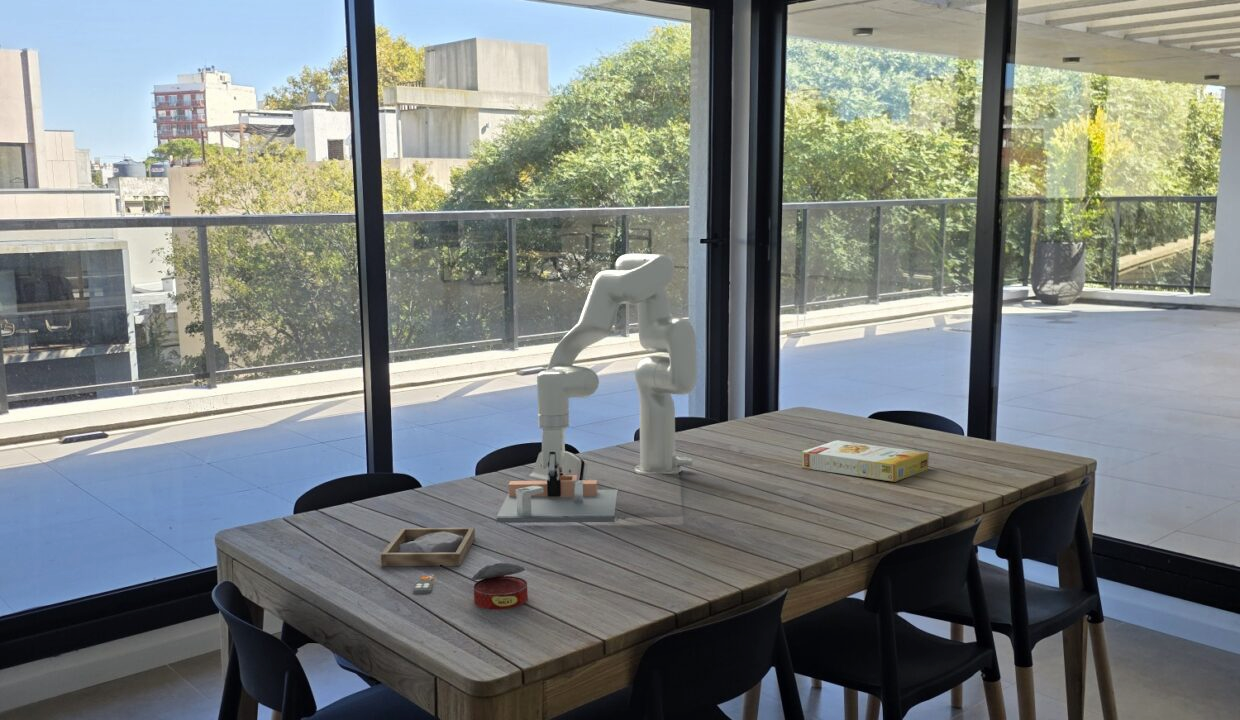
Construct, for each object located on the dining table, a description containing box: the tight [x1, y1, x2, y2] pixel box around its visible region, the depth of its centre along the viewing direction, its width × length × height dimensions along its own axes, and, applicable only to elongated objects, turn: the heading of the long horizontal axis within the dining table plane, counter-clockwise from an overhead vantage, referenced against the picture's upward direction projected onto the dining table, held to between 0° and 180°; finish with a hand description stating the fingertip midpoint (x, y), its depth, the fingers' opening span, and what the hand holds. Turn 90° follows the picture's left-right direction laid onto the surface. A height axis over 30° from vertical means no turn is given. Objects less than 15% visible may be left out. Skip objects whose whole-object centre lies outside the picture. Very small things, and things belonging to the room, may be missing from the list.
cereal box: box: [801, 439, 930, 483], centre depth 291 cm, size 20×6×28 cm
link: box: [508, 475, 598, 498], centre depth 265 cm, size 22×6×4 cm, turn 88°
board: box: [496, 489, 619, 524], centre depth 257 cm, size 27×23×2 cm
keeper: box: [516, 485, 544, 517], centre depth 249 cm, size 6×3×7 cm, turn 128°
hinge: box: [528, 450, 588, 481], centre depth 280 cm, size 17×5×10 cm, turn 47°
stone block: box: [399, 532, 463, 553], centre depth 225 cm, size 12×5×10 cm
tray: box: [380, 527, 476, 567], centre depth 226 cm, size 16×18×2 cm
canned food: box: [471, 562, 528, 611], centre depth 197 cm, size 11×10×10 cm
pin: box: [574, 480, 583, 503], centre depth 257 cm, size 2×2×6 cm
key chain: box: [412, 574, 434, 595], centre depth 208 cm, size 13×4×2 cm, turn 4°
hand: (555, 491), depth 265 cm, fingers closed on link, 6 cm apart
